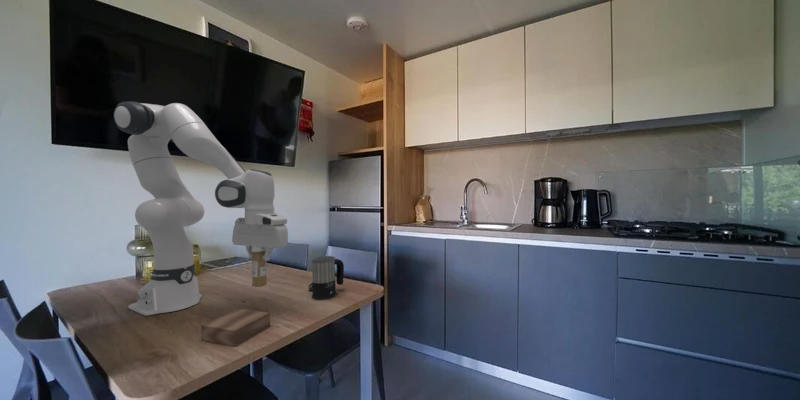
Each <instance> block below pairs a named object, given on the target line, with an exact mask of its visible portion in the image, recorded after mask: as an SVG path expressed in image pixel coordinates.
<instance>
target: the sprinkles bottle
mask: <svg viewBox="0 0 800 400" xmlns="http://www.w3.org/2000/svg"><path fill="white" fill-rule="evenodd" d="M265 253H266V251H265V247H258V246H252V259H251V278H252V279H251V280H252V281H251V282H252V284H251V286H252V287H255V288H261V287H265V286H267V284H268V282H267V268H268V267H267V266H268V265H267V262H268V261H263V260H262V259H263V258H262V255H265Z"/></svg>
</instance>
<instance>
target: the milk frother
mask: <svg viewBox="0 0 800 400" xmlns="http://www.w3.org/2000/svg"><path fill="white" fill-rule="evenodd" d="M310 260H311V263H312V264H311V273H312V274H311V275H312V276H311V277H312V282H311V283H310V284H309V285H308V287H307V288H308V290H309V291H311V292H312V295H311V297H312V299H314V300H319V301H320V300H322V301H323V300H328V299H333V298H334V297H336V296H337V290H336V289H337V287H336V284H338V285H339V286H341V285H343V284H344V268H345V267H344V266H345V264H344V262H343V260H341V259H339V258H336V257H335V256H332V255H322V256H316V257H312V258H311V259H310ZM335 266H336V267H335ZM335 270H336V271H335Z"/></svg>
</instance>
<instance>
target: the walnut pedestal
mask: <svg viewBox="0 0 800 400" xmlns="http://www.w3.org/2000/svg"><path fill="white" fill-rule="evenodd" d="M200 326H201V330H200V331H201V334H200V335H201V341H205V342H211V343H216V344H219V345H220V344H222V345H226V346H232V347H237V346H239V345H241V344H242V343H244V342H246V341H248V340H249V339H251V338H253V337H254V336H256V335H258V334H260V333H261V332H263V331H264V330H267V329H268V328H269V327H271V312H266V311H258V310H250V309H245V308H244V309H243V308H237V309H235V310H232V311H230V312H228V313H225V314H223V315H221V316H219V317H217V318H215V319H212V320H209V321H208V322H206V323H204V324H201V325H200Z"/></svg>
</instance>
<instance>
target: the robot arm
mask: <svg viewBox="0 0 800 400" xmlns="http://www.w3.org/2000/svg"><path fill="white" fill-rule="evenodd" d="M112 116H113V120H114V123H115V125H116V126H117V128H118V129H119V130H120V131H122V132H124V133H127V134H130V136H129V137H128V139H127V148H128V152H129V153H128V154H129V157H130V158H129V159H130V160H131V163H132V166H133V169H134V171H135V173H136V176H137V179H138V180H139V181H138V182H139V183H140V186H141V187H142V188H143V190H145V191H147V192H148V193H149V194H150V195H152V196H153V199H149V200H146V201H144V202H142V203H139V205H138V206H137V208H136V209H135V211H134V212H135V213H134V216H135V218H134V219H135V220H136V222H137V224H138V225H139V226H140V227H142V228H143V229H144V230H145V231H146V233H147V235H148V236H149V238H150V241H151V244H152V247H153V259H154V264H153V265H154V268H153V269H150V270H149V272H150V274H151V277H150V280H149V281H148V282H147V283H146V284H144V285H143V286H141V287H140V289H138V293H137V294H136V299H137V301H136V302H133V303H131V304H129V305H128V309H129V310H131V311H134V312H136V313H138V314H140V315H143V316H152V315H153V316H154V315H157V314H164V313H170V312H175V311H181V310H184V309H187V308H191V307H192V306H195V305H197V304H199V303H200V301H201V300H200V299H201V298H202V296H203V295H202V293H200V289H199V281H198V277H197V276H195V274H196V264H195V263H194V243H193V242H192V241H191V240H190V239H189V238H188V236H187V234H186V231H185V227H189V226H190V227H191V226H192V225H194V224H197V223H199V222H200V221H201V220H202V219H203V217H204V215H205V208H204V206H203V204H202V203H201V202H200V201H198V200H197V199H196V198H195V197H194V196H193V195H192V193H191V192H190V191H189V190H188V188H187V187H186V186H185V184H184V183H183V181H182V179H181V177H180V176H179V173H178V170H177V167H176V165H175V163H174V160H173V158H172V156H171V153H170V151H169V147H168V144H169V142H170V143H174V144H175V146H176V147H177V148H178V149H179V150H180V151H181V152H182V153H183V154H185V155H186V156H187V157H189V158H191V159H194V160H197V161H199V162H203V163H205V164H209V166H212V167H214V168H216V169H218V170H219V171H221V172H222V174H223V175H224V176H225V178H227V179H223V180H222V181H220V182H219V183H218V184H217V186H215V187H216V188H215V190H214V197H215V200H216V202H217V203H218V204H219V206H221V207H224V208H228V209H244V217H238V218H237V219H236V220H235V221H234V225H233V230H232V237H231V238H232V239H231V240H232V241H231V242H232V243H233V245H234V246H235V245H236V246H243V247H244V246H245V250H246V252H247V254H248V260H252V246H258V247H265V251H266V253H265V255H262V258H263V259H262V260H263V261H266V262H268V261H270V260H271V254H272V252H273V250H274V249H283V248H286V247H287V245H288V244H289V232H288V227H287V226H286V224H288V218H287V217H286V216H282V215H280V214H278V213H277V212H275V206H274V200H275V182H274V181H275V179H274V177H273V174H271V172H268V171H264V170H261V169H260V170H259V169H255V168H254V169H253V168H250V169H248V170H247V169H246V170H245V168H243V166H242V165H241V164H240V163H239V161H237V159H236V158H235V157H234V156H233V155H232V154H231V153H230V152H229V151H228V150H227V149H226V147H224V146H223V145H222V144H221V142H220V141H219V140H218V139H217V138H216V136H215V134H213V133H212V131H211V130H210V129H209V128H208V125H206V123H205V122H204V121H203V119H201V118H200V117H199V115H198V114H196V113H195V111H194V110H192V109H191V108H190V107H189V106H187V105H186V104H183V103H181V102H180V103H179V102H173V103H169V104H167V105H160V104H154V103H153V104H152V103H143V102H142V103H141V102H137V101H122V102H120V103H118V104H117V105H116V107H115V108H114V111H113V115H112Z"/></svg>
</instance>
